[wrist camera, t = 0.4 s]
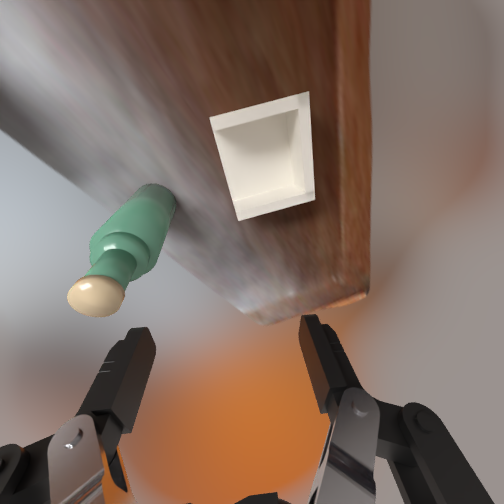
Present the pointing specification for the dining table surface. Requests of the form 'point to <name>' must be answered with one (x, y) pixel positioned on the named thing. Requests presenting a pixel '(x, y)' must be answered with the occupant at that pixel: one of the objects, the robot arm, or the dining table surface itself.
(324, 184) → the dining table surface
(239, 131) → the holder
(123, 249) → the green bottle
